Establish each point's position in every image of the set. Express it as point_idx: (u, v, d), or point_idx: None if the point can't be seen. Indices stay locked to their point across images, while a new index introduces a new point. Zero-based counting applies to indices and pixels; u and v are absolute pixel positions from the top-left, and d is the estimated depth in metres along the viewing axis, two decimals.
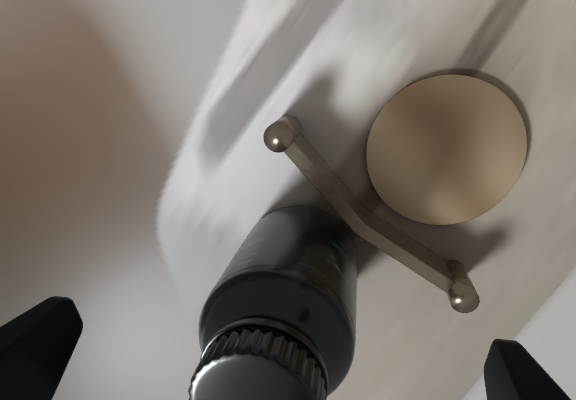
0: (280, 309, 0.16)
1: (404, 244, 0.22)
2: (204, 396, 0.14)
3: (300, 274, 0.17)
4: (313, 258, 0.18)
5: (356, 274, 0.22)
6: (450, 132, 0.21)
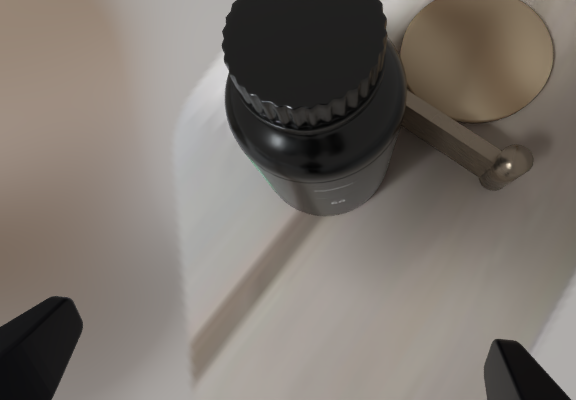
0: None
1: None
2: (244, 20, 0.12)
3: None
4: None
5: None
6: (479, 34, 0.23)
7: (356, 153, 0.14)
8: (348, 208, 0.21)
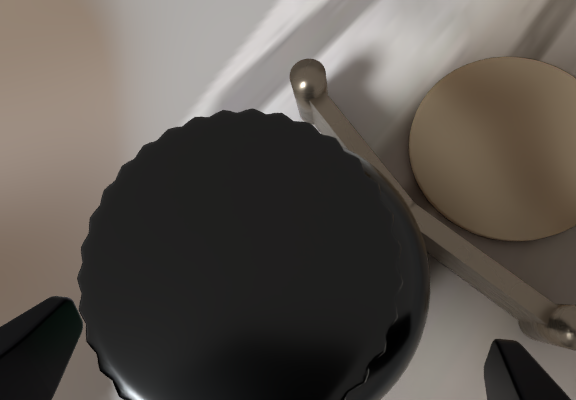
0: None
1: None
2: (122, 228, 0.06)
3: None
4: None
5: None
6: (515, 118, 0.17)
7: None
8: None
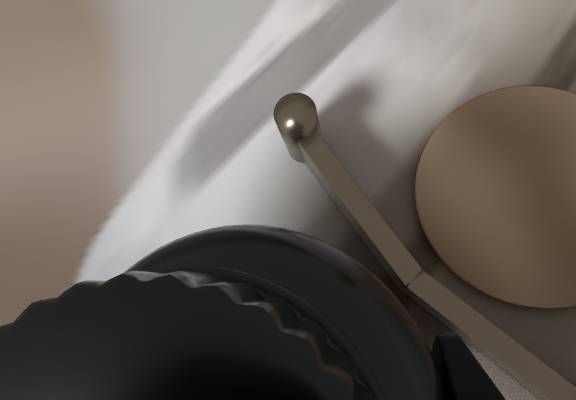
0: None
1: None
2: None
3: (327, 243, 0.07)
4: None
5: None
6: (540, 160, 0.15)
7: None
8: None
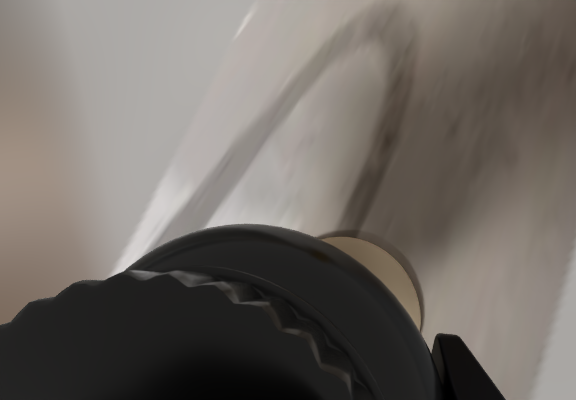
0: (275, 284, 0.06)
1: None
2: None
3: (326, 242, 0.07)
4: None
5: None
6: None
7: None
8: None
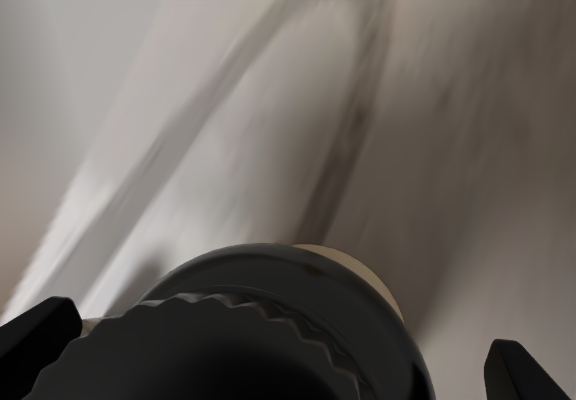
0: (288, 298, 0.07)
1: None
2: None
3: (331, 259, 0.08)
4: None
5: None
6: None
7: None
8: None
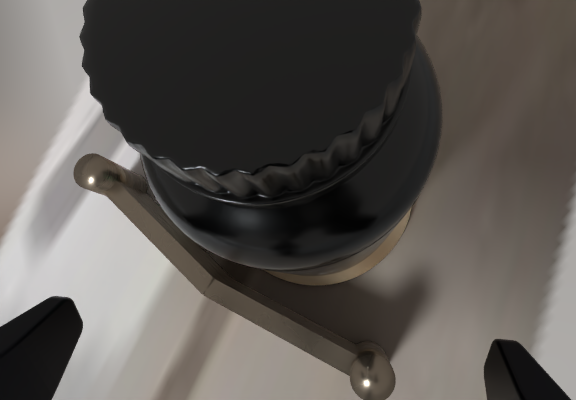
0: None
1: (279, 309, 0.15)
2: None
3: None
4: None
5: None
6: None
7: (355, 231, 0.08)
8: (344, 269, 0.15)
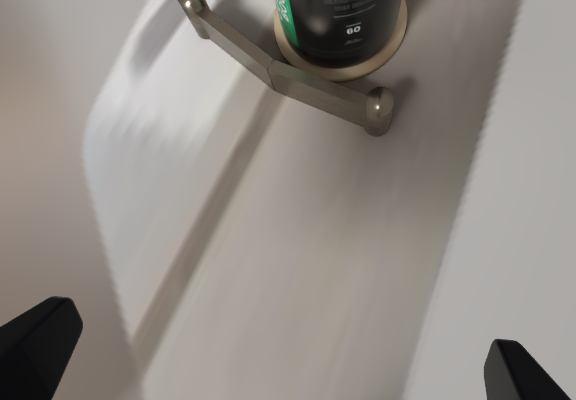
0: None
1: None
2: None
3: None
4: None
5: None
6: None
7: None
8: (361, 53, 0.22)
